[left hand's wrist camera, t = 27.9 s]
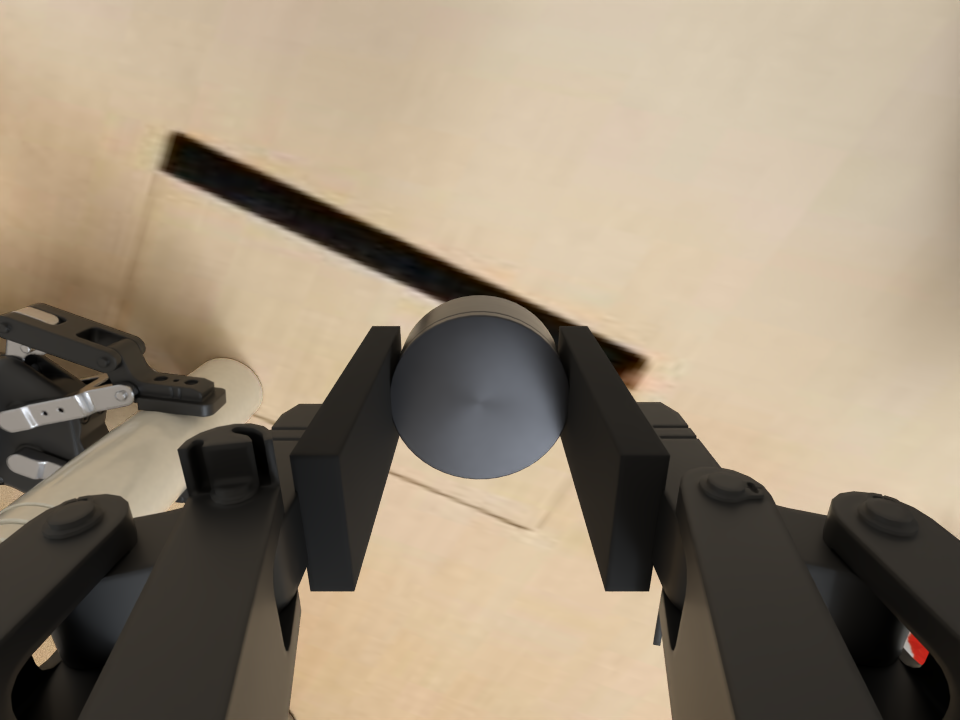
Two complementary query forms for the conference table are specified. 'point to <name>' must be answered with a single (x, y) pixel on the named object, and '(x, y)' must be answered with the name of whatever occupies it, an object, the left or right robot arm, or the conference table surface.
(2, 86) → the conference table surface
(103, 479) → the bottle
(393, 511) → the conference table surface
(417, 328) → the cap
